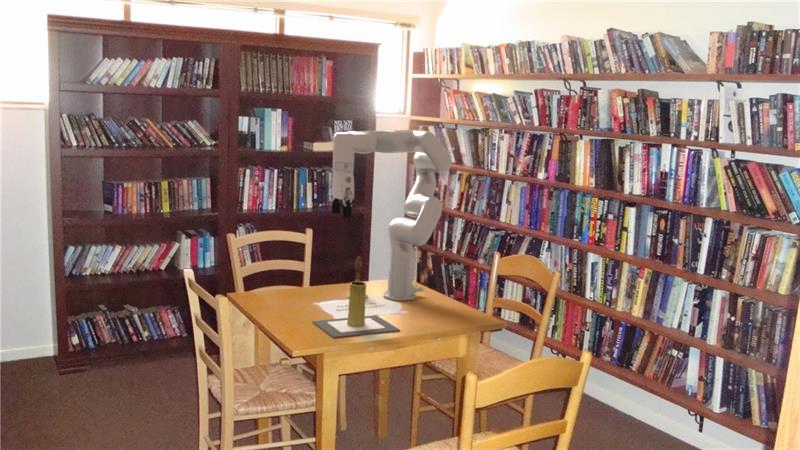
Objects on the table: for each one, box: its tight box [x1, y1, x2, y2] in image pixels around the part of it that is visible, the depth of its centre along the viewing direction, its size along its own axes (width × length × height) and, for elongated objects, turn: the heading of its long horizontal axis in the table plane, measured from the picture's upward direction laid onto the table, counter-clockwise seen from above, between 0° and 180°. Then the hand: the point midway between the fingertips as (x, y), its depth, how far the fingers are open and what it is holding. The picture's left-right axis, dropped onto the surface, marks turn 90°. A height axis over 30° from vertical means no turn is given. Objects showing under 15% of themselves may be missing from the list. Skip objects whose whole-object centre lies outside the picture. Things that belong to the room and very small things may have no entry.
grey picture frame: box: [312, 314, 401, 339], centre depth 245 cm, size 24×18×1 cm
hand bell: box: [346, 256, 369, 300], centre depth 283 cm, size 8×8×16 cm
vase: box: [347, 280, 367, 327], centre depth 244 cm, size 6×6×14 cm
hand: (341, 215), depth 262 cm, fingers open, 9 cm apart
